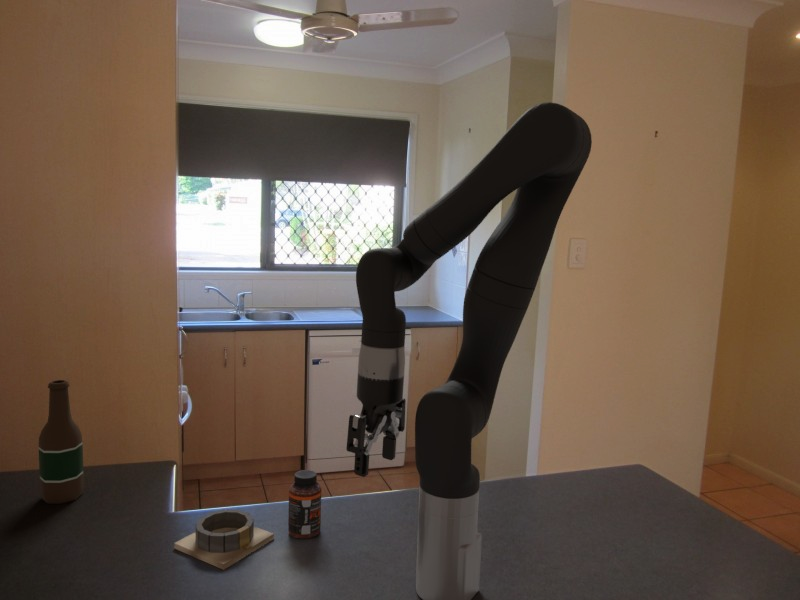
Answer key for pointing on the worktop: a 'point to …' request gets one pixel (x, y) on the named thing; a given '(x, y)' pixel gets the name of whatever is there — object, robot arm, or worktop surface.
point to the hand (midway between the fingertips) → (375, 466)
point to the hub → (224, 538)
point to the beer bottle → (60, 450)
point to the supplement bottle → (304, 505)
